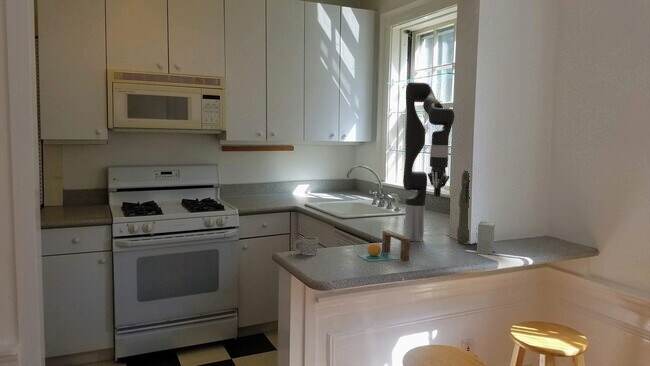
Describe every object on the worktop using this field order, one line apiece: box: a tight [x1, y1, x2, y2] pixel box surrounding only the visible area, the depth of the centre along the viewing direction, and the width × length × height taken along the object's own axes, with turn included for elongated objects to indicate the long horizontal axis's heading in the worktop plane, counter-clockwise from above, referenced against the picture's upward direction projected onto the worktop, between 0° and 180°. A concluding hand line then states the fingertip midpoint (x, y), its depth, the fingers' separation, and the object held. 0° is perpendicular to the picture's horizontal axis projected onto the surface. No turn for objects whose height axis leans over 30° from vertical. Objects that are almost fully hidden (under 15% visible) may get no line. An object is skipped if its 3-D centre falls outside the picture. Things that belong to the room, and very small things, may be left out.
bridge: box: [381, 229, 411, 262], centre depth 212 cm, size 3×17×9 cm, turn 23°
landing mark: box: [357, 252, 400, 263], centre depth 209 cm, size 10×14×1 cm
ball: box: [367, 242, 382, 256], centre depth 211 cm, size 6×6×6 cm
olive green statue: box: [456, 169, 470, 244], centre depth 241 cm, size 9×12×35 cm
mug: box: [293, 236, 319, 255], centre depth 212 cm, size 10×7×7 cm, turn 99°
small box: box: [476, 221, 496, 256], centre depth 223 cm, size 8×6×13 cm
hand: (437, 196), depth 217 cm, fingers closed
